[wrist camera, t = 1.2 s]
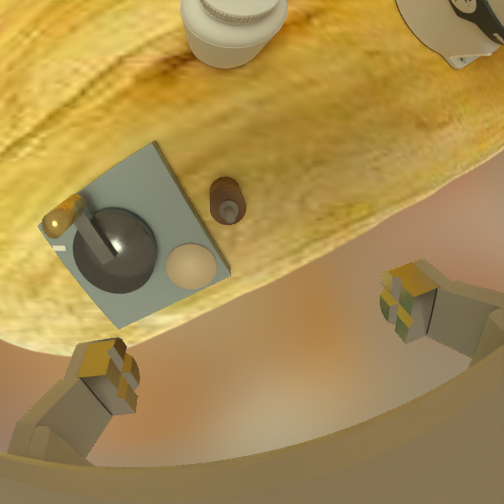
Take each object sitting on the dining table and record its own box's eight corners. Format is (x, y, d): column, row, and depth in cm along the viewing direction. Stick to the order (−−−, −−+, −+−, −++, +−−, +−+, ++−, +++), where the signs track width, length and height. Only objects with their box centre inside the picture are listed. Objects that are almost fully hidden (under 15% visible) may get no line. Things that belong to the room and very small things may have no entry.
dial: (111, 166, 28) (83, 185, 21) (173, 262, 34) (166, 303, 27) (50, 212, 29) (16, 241, 22) (111, 296, 35) (94, 338, 28)
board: (154, 140, 29) (150, 143, 27) (229, 267, 38) (231, 277, 36) (44, 220, 31) (35, 227, 29) (121, 320, 39) (117, 331, 37)
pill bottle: (278, 38, 26) (329, -7, 13) (225, 83, 28) (238, 61, 15) (226, -6, 23) (241, -75, 9) (172, 39, 25) (146, -11, 11)
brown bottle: (231, 171, 32) (239, 192, 25) (244, 197, 34) (256, 225, 26) (204, 185, 33) (203, 211, 25) (218, 210, 34) (222, 243, 26)
